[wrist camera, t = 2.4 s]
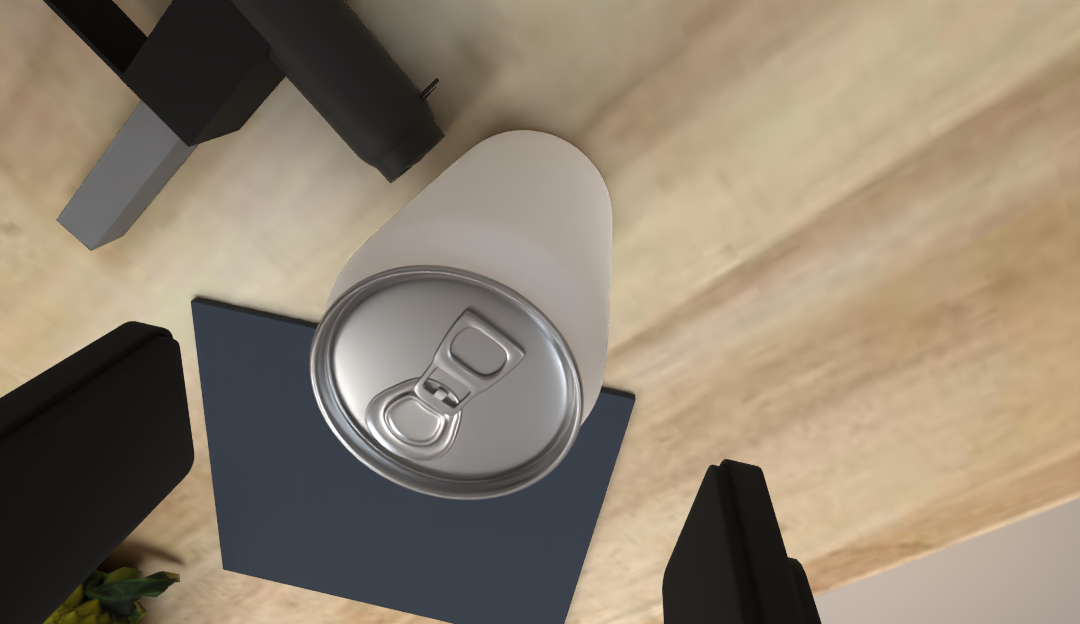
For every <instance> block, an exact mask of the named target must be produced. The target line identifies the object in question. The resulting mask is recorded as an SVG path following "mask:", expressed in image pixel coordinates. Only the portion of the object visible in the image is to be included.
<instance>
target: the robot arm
mask: <svg viewBox="0 0 1080 624" xmlns="http://www.w3.org/2000/svg"><path fill="white" fill-rule="evenodd" d="M193 462H194V448H193V440H192V433H191V426H190V418H189V411H188V404H187V396H186V389H185V381H184V374H183V367H182V359H181V352H180V346H179V343H178V342H177V341H176V340H175V339H173V336H172V334H171V332H170V331H169V330H167V329H165V328H162V327H157V326H153V325H149V324H145V323H140V322H136V321H129V322H127V323H124V324H122V325H121V326H119V327H117V328H116V329H114V330H112V331H111V332H109V333H107V334H106V335H104V336H103V337H101V338H99V339H98V340H96V341H94V342H93V343H91V344H89V345H88V346H86V347H84V348H83V349H81V350H79V351H78V352H76V353H74V354H73V355H71V356H69V357H68V358H66V359H64V360H63V361H61V362H59V363H58V364H56V365H54V366H53V367H51V368H49V369H48V370H46V371H44V372H43V373H41V374H39V375H38V376H36V377H35V378H33V379H31V380H30V381H28V382H26V383H25V384H23V385H21V386H20V387H18V388H16V389H15V390H13V391H11V392H10V393H8V394H6V395H5V396H3V397H1V398H0V624H43V623H44V622H45V621H46V620H47V619H48V618H49V617H50V616H51V615H52V614H53V613H54V612H55V611H56V609H57V608H58V607H59V606H60V605H61V604H62V603H63V602H64V601H65V600H66V599H67V598H68V597H69V596H70V595H71V594H72V593H73V592H74V591H75V590H76V589H77V588H78V587H79V586H80V585H81V584H82V583H83V582H84V581H85V580H86V579H87V578H88V577H89V575H90V574H91V573H92V572H93V571H94V570H95V569H96V568H97V567H98V566H99V565H100V564H101V563H102V562H103V561H104V560H105V559H106V558H107V557H108V556H109V555H110V554H111V553H112V552H113V551H114V550H115V549H116V548H117V547H118V546H119V545H120V544H121V542H122V541H123V540H124V539H125V538H126V537H127V536H128V535H129V534H130V533H131V532H132V531H133V530H134V529H135V528H136V527H137V526H138V525H139V524H140V523H141V522H142V521H143V520H144V519H145V518H146V517H147V516H148V515H149V514H150V513H151V512H152V511H153V510H154V508H155V507H156V506H157V505H158V504H159V503H160V502H161V501H162V500H163V499H164V498H165V497H166V496H167V495H168V494H169V493H170V492H171V491H172V490H173V489H174V488H175V487H176V486H177V485H178V484H179V483H180V482H181V481H182V480H183V479H184V478H185V476H186V475H187V474H188V473H189V471H190V469H191V467H192V465H193ZM662 595H663V613H664V624H821V621H820V617H819V614H818V611H817V608H816V605H815V602H814V598H813V595H812V592H811V589H810V586H809V583H808V579H807V576H806V573H805V571H804V569H803V567H802V565H801V564H800V563H799V561H798V560H797V559H793V558H789V557H787V553H786V550H785V546H784V543H783V539H782V536H781V533H780V529H779V526H778V522H777V519H776V516H775V512H774V509H773V505H772V502H771V499H770V495H769V492H768V488H767V485H766V481H765V478H764V475H763V472H762V470H761V468H760V467H758V466H754V465H750V464H746V463H741V462H737V461H733V460H729V459H724V460H723V461H722V462H721V464H720V466H716V465H710V466H709V468H708V470H707V472H706V474H705V477H704V479H703V481H702V484H701V486H700V488H699V491H698V493H697V496H696V498H695V500H694V503H693V505H692V507H691V510H690V512H689V515H688V517H687V519H686V522H685V524H684V526H683V529H682V531H681V534H680V536H679V538H678V541H677V543H676V545H675V548H674V550H673V553H672V555H671V557H670V560H669V562H668V565H667V567H666V570H665V573H664V578H663V586H662Z"/></svg>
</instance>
